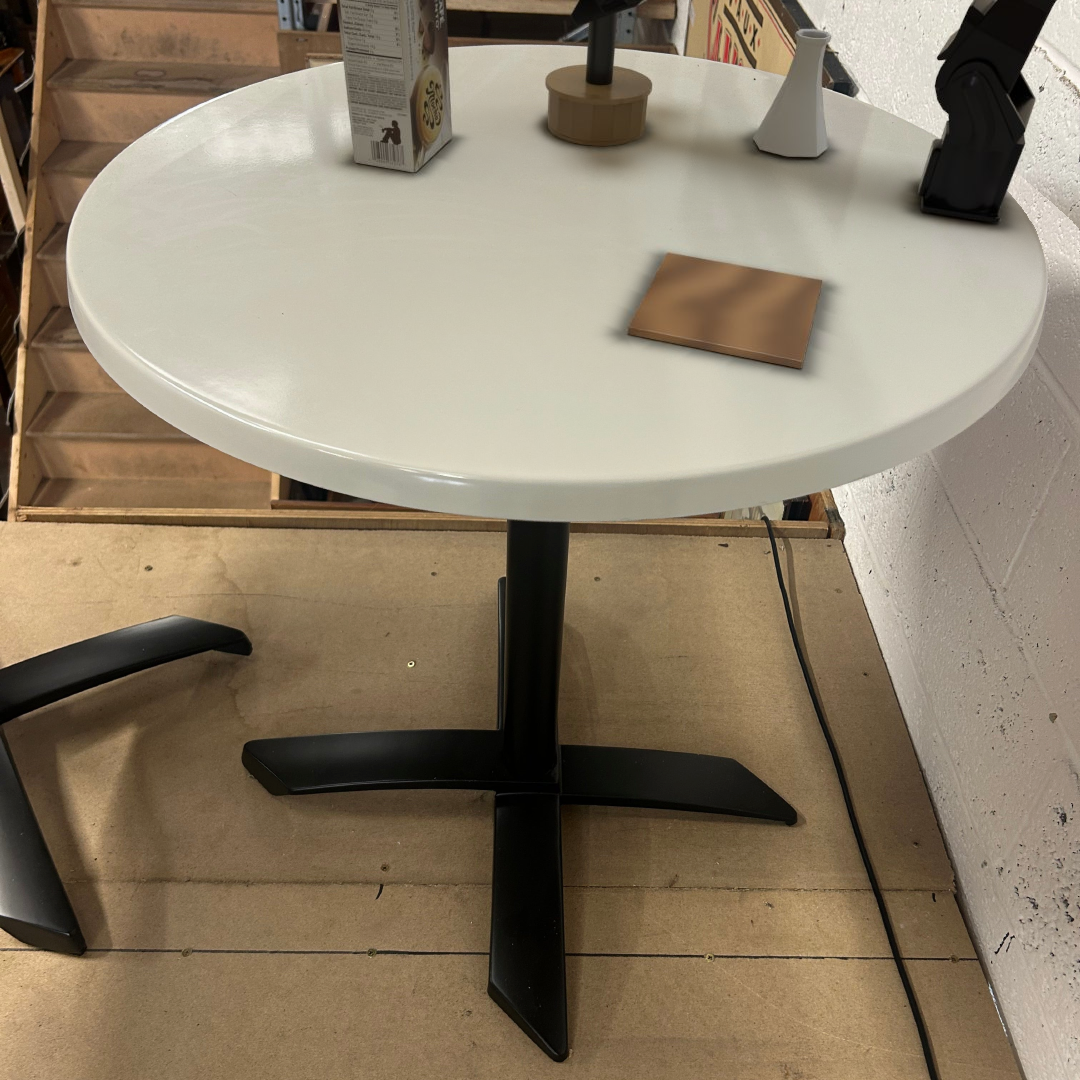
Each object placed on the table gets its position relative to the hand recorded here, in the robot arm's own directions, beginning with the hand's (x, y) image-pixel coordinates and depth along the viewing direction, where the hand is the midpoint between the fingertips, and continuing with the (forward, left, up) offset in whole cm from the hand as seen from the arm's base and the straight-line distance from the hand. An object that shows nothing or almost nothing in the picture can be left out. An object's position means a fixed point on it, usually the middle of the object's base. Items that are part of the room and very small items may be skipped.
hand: (595, 9), depth 85 cm
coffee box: (+14, +13, -11) cm, 22 cm away
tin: (-1, 0, -10) cm, 11 cm away
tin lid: (-1, 0, -7) cm, 7 cm away
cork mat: (-20, +31, -10) cm, 38 cm away
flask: (-20, -3, -11) cm, 23 cm away
